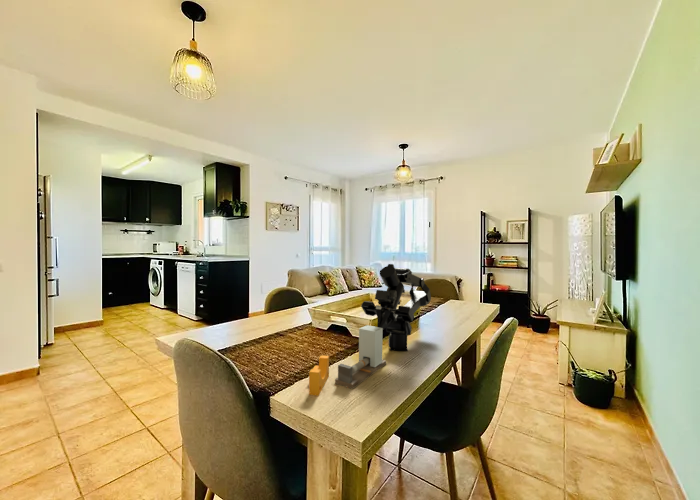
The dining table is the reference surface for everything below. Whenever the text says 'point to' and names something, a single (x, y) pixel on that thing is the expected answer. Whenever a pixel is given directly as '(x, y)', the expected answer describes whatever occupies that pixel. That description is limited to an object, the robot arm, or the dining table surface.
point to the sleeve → (371, 344)
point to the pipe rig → (356, 373)
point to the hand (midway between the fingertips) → (378, 331)
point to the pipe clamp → (319, 376)
